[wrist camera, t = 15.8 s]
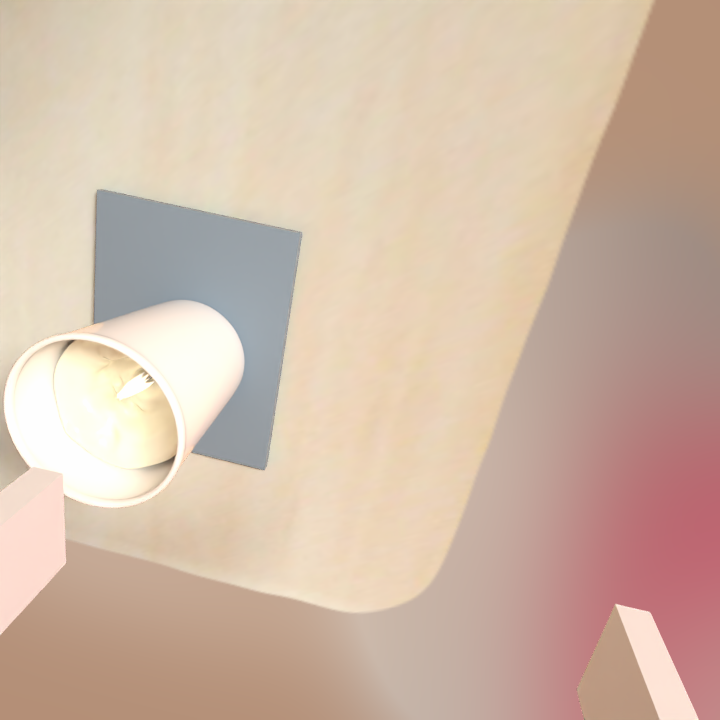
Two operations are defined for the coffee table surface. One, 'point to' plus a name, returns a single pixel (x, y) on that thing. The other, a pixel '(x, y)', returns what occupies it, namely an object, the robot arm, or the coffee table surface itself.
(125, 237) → the mat
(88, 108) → the coffee table surface
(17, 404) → the candle holder
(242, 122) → the coffee table surface
